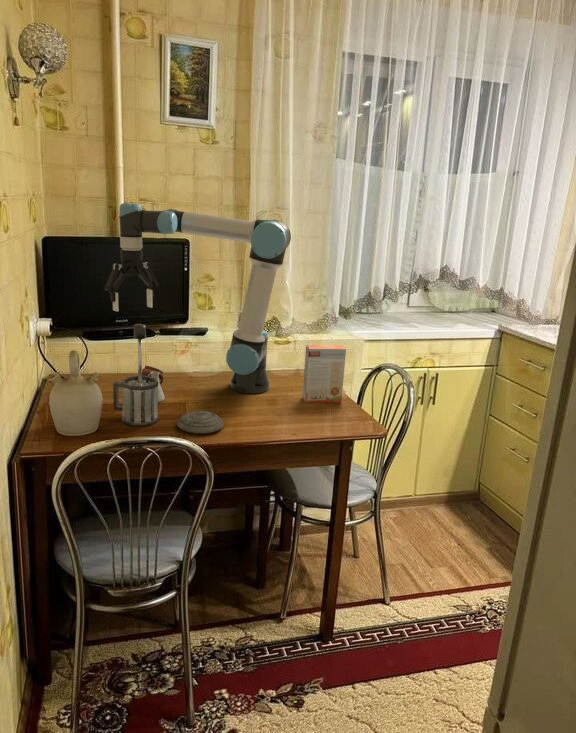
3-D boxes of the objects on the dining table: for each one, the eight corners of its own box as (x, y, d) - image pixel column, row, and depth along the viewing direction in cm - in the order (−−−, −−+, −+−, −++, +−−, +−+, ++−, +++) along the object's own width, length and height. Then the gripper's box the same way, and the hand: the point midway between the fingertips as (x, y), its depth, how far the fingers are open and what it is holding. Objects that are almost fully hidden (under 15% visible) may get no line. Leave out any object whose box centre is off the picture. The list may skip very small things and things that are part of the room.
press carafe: (164, 416, 200) (164, 378, 197) (148, 428, 190) (148, 389, 186) (123, 409, 204) (123, 372, 200) (105, 421, 193) (105, 382, 189)
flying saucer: (174, 420, 199) (174, 404, 197) (219, 418, 203) (219, 402, 201) (179, 438, 185) (179, 421, 184) (227, 435, 189) (228, 419, 188)
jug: (41, 436, 179) (37, 355, 172) (63, 417, 194) (59, 342, 186) (92, 441, 178) (90, 360, 171) (110, 421, 193) (108, 346, 186)
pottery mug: (131, 383, 231) (139, 363, 232) (153, 392, 236) (161, 372, 237) (142, 385, 221) (150, 364, 222) (165, 394, 225) (172, 373, 227)
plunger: (157, 386, 196) (158, 324, 190) (146, 394, 188) (146, 329, 182) (134, 383, 198) (133, 321, 192) (121, 391, 190) (120, 326, 184)
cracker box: (337, 397, 230) (343, 344, 224) (341, 403, 224) (347, 349, 218) (301, 397, 227) (305, 343, 221) (304, 403, 222) (309, 348, 216)
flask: (149, 395, 219) (149, 368, 216) (168, 397, 218) (168, 371, 215) (140, 401, 212) (140, 374, 209) (160, 404, 211) (160, 377, 208)
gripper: (156, 246, 222) (157, 303, 228) (92, 249, 205) (95, 310, 212) (168, 248, 217) (168, 307, 223) (103, 251, 200) (105, 314, 206)
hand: (133, 308), depth 217 cm, fingers open, 13 cm apart
